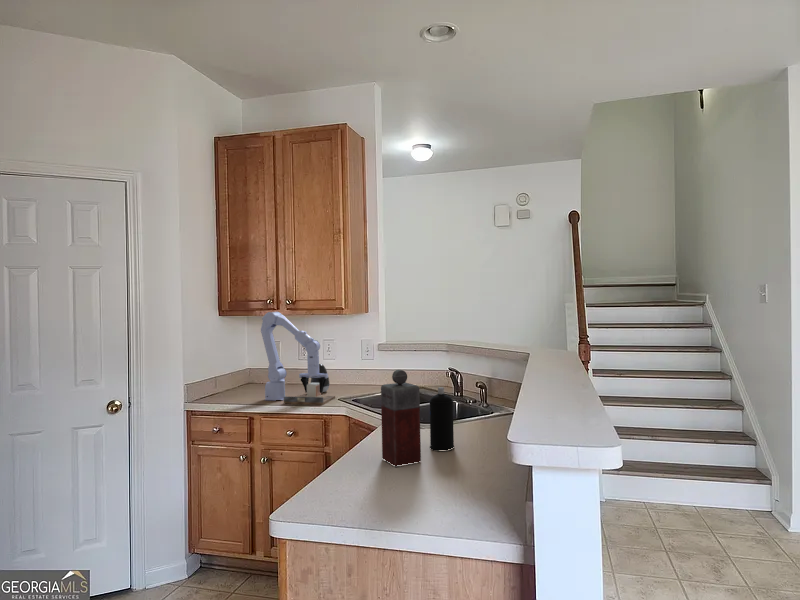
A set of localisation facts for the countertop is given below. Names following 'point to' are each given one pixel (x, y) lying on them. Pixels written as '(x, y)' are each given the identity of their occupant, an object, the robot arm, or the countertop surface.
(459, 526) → the countertop surface
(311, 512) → the countertop surface
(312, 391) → the cream box
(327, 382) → the black rounded upright piece
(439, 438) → the aerosol can
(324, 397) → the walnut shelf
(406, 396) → the pepper mill
